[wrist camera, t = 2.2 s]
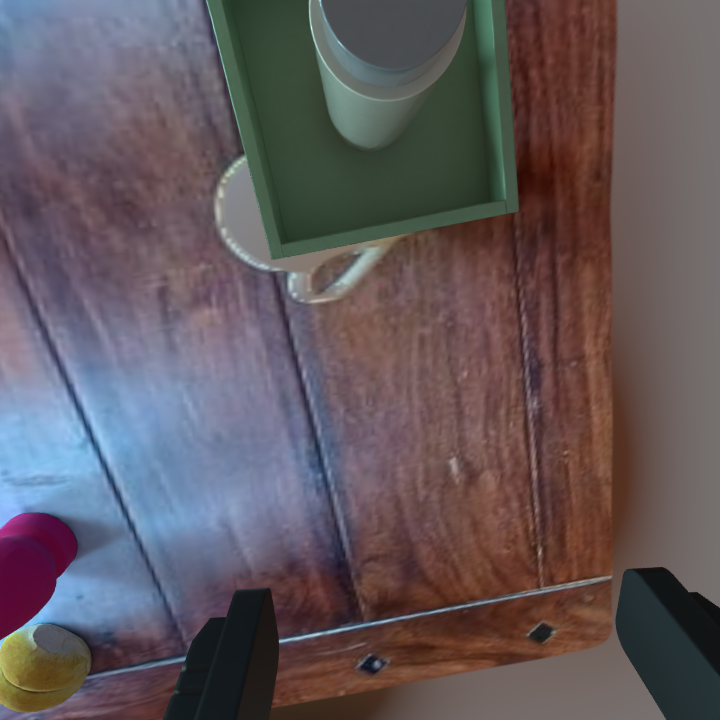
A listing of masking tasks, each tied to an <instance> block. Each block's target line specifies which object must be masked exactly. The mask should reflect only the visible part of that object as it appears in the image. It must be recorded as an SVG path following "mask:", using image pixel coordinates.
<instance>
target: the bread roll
mask: <svg viewBox="0 0 720 720" xmlns="http://www.w3.org/2000/svg"><path fill="white" fill-rule="evenodd" d="M90 668H91V653H90V650H89V648H88V646H87V644H86V643H85V642H84V641H83V639H81V638H80V637H78V636H77V635H75V634H73V633H71V632H69V631H67V630H66V629H64V628H61V627H59V626H56V625H52V624H47V623H42V624H36V625H32V626H28V627H25V628H22V629H20V630H18V631H16V632H14V633H13V634H11V635H10V636H8V637H7V638H6V639H5V641H4V642H3V644H2V646H1V649H0V704H2V705H3V706H5V707H7V708H9V709H11V710H14V711H17V712H24V713H29V712H38V711H42V710H45V709H48V708H51V707H54V706H57V705H59V704H61V703H62V702H64V701H66V700H67V699H69V698H70V697H71V696H72V695H73V694H74V693H76V692H77V691H78V690H79V688H80V687H81V686H82V685H83V683H84V681H85V679H86V677H87V675H88V673H89V671H90Z"/></svg>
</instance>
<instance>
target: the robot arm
mask: <svg viewBox="0 0 720 720" xmlns="http://www.w3.org/2000/svg"><path fill="white" fill-rule="evenodd" d="M616 629H617V634H618V637H619V640H620V643H621V645H622V647H623V650H624V651H625V653H626V655H627V656H628V658H629V660H630V661H631V663H632V665H633V666H634V667H635V669H636V671H637V672H638V674H639V676H640V677H641V679H642V681H643V682H644V684H645V685H646V687H647V689H648V690H649V692H650V694H651V695H652V697H653V699H654V700H655V702H656V703H657V705H658V707H659V708H660V710H661V712H662V713H663V715H664V716H665V718H666V720H720V608H719V607H718V606H716V605H715V604H713V603H712V602H710V601H709V600H708V599H706V598H705V597H703V596H702V595H700V594H699V593H698V592H690V593H689V592H688V591H687V590H686V589H685V588H684V587H683V586H682V584H681V583H680V582H679V581H678V580H677V579H676V577H675V576H674V575H673V574H672V573H671V572H670V571H668V570H667V569H666V568H663V567H654V568H637V569H627V570H626V571H625V572H624V574H623V579H622V585H621V591H620V597H619V602H618V608H617V614H616ZM278 659H279V638H278V631H277V624H276V618H275V612H274V606H273V599H272V593H271V590H270V588H261V589H243V590H236V591H235V593H234V595H233V598H232V601H231V604H230V607H229V610H228V613H227V617H220V618H210V619H209V620H208V622H207V623H206V624H205V625H204V627H203V628H202V629H201V631H200V632H199V633H198V634H197V636H196V637H195V638H194V639H193V641H192V644H191V646H190V649H189V652H188V654H187V657H186V659H185V662H184V665H183V671H182V672H181V673H180V675H179V678H178V681H177V683H176V686H175V689H174V695H172V697H171V699H170V702H169V705H168V707H167V710H166V713H165V715H164V718H163V720H269V717H270V710H271V705H272V699H273V693H274V687H275V681H276V675H277V669H278Z"/></svg>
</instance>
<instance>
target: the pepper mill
mask: <svg viewBox="0 0 720 720" xmlns="http://www.w3.org/2000/svg"><path fill="white" fill-rule="evenodd" d="M76 553H77V541H76V538H75V536H74V534H73V532H72V531H71V530H70V529H69V527H68V526H67V525H66V524H64V523H63V522H61V521H60V520H58V519H57V518H55V517H52V516H50V515H46V514H42V513H25V514H21V515H18V516H16V517H14V518H12V519H11V520H10V521H9V522H8V523H6V524H5V525H4V526H3V527H2V528H1V529H0V640H1V639H3V638H4V637H6V636H8V635H9V634H11V633H12V632H14V631H16V630H17V629H19V628H20V627H22V626H23V625H24V624H26V623H27V622H28V621H29V620H31V619H32V618H33V617H34V616H35V615H36V614H37V613H38V612H39V611H40V610H41V609H42V608H43V607H44V606H45V605H46V603H47V602H48V601H49V600H50V598H51V597H52V595H53V593H54V591H55V587H56V579H57V578H58V577H59V576H61V575H62V573H63V572H64V571H65V570H66V568H67V567H68V566H69V565H70V563H71V562H72V561H73V559H74V558H75V556H76Z"/></svg>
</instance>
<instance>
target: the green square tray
mask: <svg viewBox="0 0 720 720" xmlns="http://www.w3.org/2000/svg"><path fill="white" fill-rule="evenodd" d="M207 4H208V8H209V12H210V16H211V20H212V24H213V28H214V32H215V36H216V40H217V44H218V48H219V52H220V56H221V60H222V64H223V68H224V72H225V76H226V80H227V84H228V88H229V92H230V96H231V100H232V104H233V107H234V111H235V115H236V119H237V123H238V127H239V131H240V135H241V139H242V143H243V147H244V151H245V155H246V159H247V163H248V167H249V171H250V175H251V179H252V183H253V187H254V191H255V195H256V199H257V203H258V207H259V211H260V215H261V219H262V223H263V227H264V231H265V235H266V239H267V243H268V247H269V251H270V255H271V259H272V260H275V259H280V258H284V257H290V256H295V255H300V254H306V253H310V252H316V251H321V250H325V249H331V248H336V247H341V246H346V245H351V244H356V243H361V242H366V241H371V240H376V239H381V238H386V237H391V236H397V235H402V234H407V233H412V232H417V231H422V230H427V229H432V228H437V227H442V226H447V225H452V224H457V223H462V222H467V221H472V220H477V219H482V218H487V217H492V216H497V215H503V214H506V213H512V212H518V211H519V203H518V188H517V173H516V158H515V143H514V128H513V113H512V98H511V83H510V68H509V53H508V38H507V23H506V9H505V0H468V1H467V10H466V21H465V27H464V32H463V35H462V39H461V42H460V45H459V47H458V50H457V52H456V54H455V56H454V58H453V60H452V61H451V63H450V65H449V66H448V68H447V69H446V71H445V72H444V74H443V75H442V77H441V78H440V79H439V81H438V82H437V84H436V85H435V87H434V88H433V90H432V91H431V93H430V94H429V95H428V97H427V98H426V100H425V101H424V103H423V104H422V106H421V107H420V109H419V110H418V112H417V113H416V114H415V116H414V117H413V119H412V120H411V122H410V123H409V125H408V126H407V128H406V129H405V131H404V132H403V133H402V135H401V136H400V138H399V139H398V140H397V141H396V142H395V143H394V144H392V145H391V146H389V147H388V148H386V149H384V150H381V151H378V152H371V153H370V152H360V151H357V150H355V149H353V148H351V147H349V146H348V145H346V144H345V143H344V142H343V141H342V140H341V139H340V138H339V137H338V135H337V134H336V133H335V131H334V129H333V127H332V124H331V122H330V118H329V113H328V108H327V104H326V99H325V94H324V89H323V85H322V80H321V75H320V70H319V65H318V61H317V56H316V51H315V46H314V42H313V37H312V32H311V27H310V19H309V0H207Z"/></svg>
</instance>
